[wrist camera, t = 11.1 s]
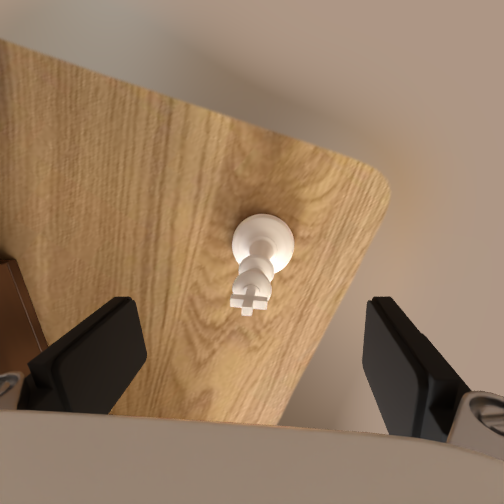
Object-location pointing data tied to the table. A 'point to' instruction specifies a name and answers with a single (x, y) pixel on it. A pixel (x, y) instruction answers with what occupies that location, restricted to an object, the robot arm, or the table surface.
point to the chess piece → (259, 259)
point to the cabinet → (17, 322)
